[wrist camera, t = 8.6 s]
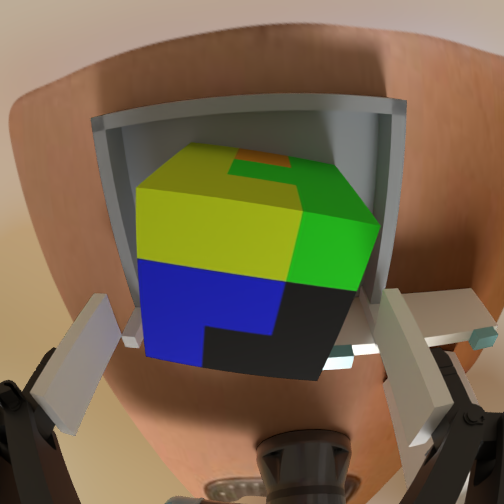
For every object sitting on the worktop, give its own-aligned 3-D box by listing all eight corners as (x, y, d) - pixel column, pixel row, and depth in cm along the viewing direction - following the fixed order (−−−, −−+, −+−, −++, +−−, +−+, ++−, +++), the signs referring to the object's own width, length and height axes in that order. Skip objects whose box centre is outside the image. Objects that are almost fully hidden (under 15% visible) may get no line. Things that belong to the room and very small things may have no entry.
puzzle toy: (182, 265, 26) (145, 356, 17) (191, 142, 21) (135, 187, 12) (304, 283, 26) (316, 380, 17) (335, 165, 21) (380, 226, 12)
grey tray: (369, 289, 27) (390, 345, 21) (150, 293, 29) (125, 347, 22) (387, 97, 19) (432, 105, 13) (113, 112, 20) (61, 127, 14)
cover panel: (467, 298, 27) (498, 344, 21) (302, 310, 29) (309, 370, 22) (471, 287, 27) (504, 333, 20) (303, 297, 28) (311, 358, 22)
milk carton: (381, 383, 34) (412, 525, 18) (412, 344, 31) (464, 499, 14) (423, 386, 35) (459, 511, 18) (454, 350, 31) (508, 483, 15)
